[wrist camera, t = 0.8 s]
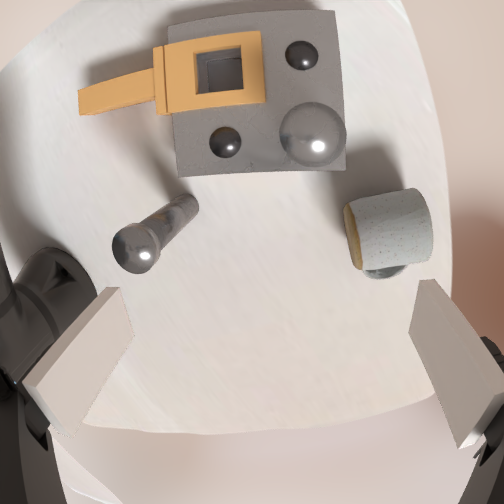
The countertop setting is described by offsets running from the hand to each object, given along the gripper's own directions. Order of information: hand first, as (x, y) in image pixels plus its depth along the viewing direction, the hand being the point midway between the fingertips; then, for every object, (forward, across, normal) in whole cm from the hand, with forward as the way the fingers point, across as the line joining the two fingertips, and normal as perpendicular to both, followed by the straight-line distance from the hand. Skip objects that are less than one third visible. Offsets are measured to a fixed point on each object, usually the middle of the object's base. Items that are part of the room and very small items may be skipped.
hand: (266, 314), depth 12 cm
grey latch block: (+22, -1, +11) cm, 25 cm away
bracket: (+22, -10, +14) cm, 28 cm away
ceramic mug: (+22, +12, -4) cm, 25 cm away
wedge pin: (+22, -10, 0) cm, 24 cm away
